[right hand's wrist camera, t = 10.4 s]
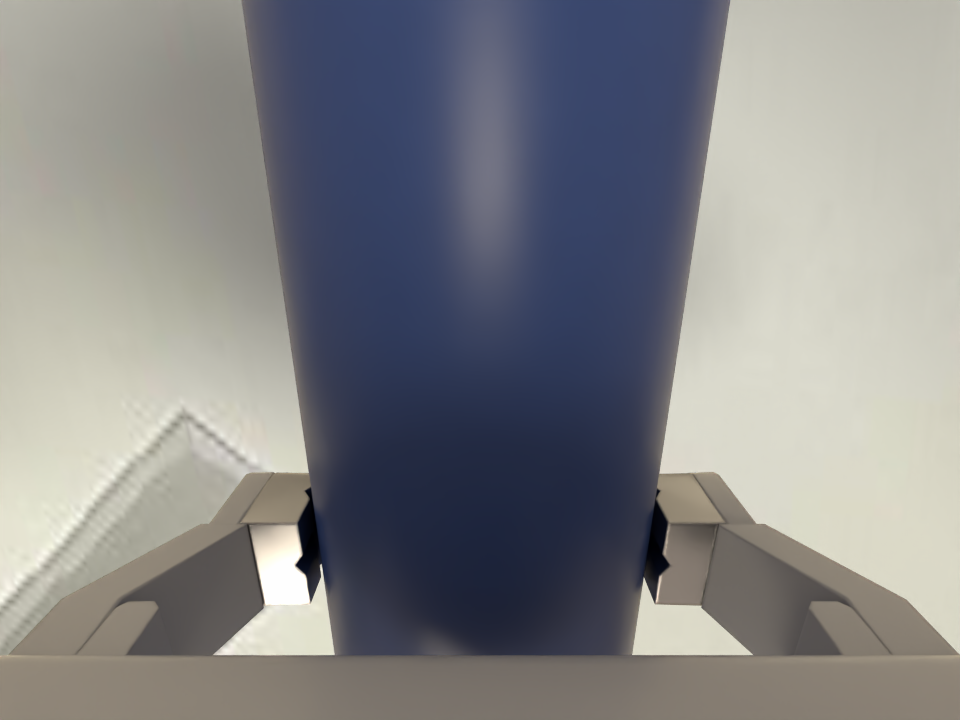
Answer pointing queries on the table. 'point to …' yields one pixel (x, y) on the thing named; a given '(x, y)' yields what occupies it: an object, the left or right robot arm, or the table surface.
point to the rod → (484, 300)
